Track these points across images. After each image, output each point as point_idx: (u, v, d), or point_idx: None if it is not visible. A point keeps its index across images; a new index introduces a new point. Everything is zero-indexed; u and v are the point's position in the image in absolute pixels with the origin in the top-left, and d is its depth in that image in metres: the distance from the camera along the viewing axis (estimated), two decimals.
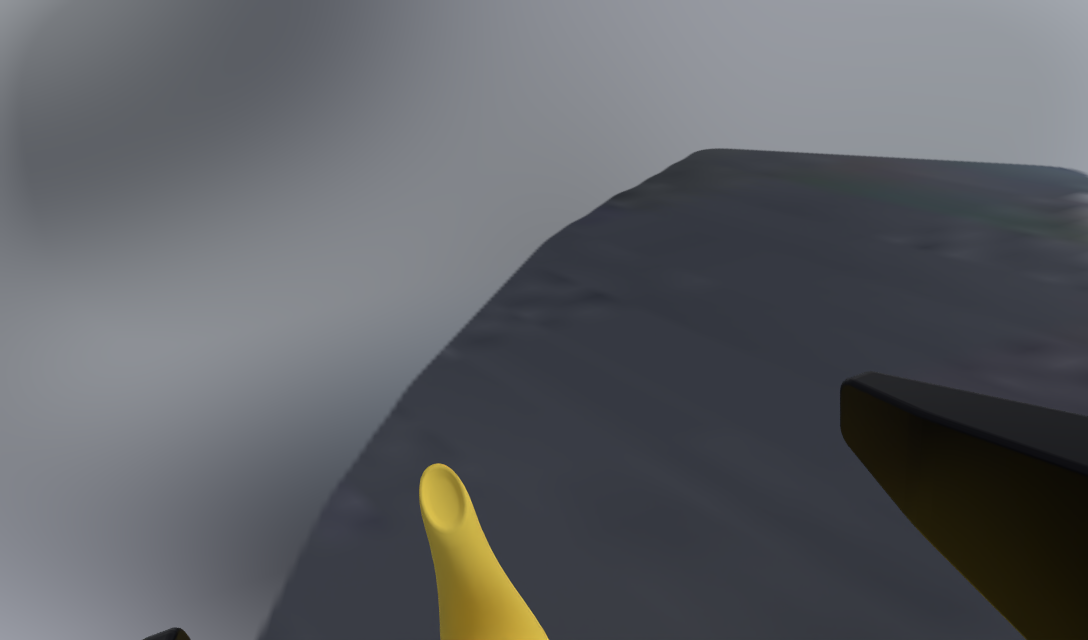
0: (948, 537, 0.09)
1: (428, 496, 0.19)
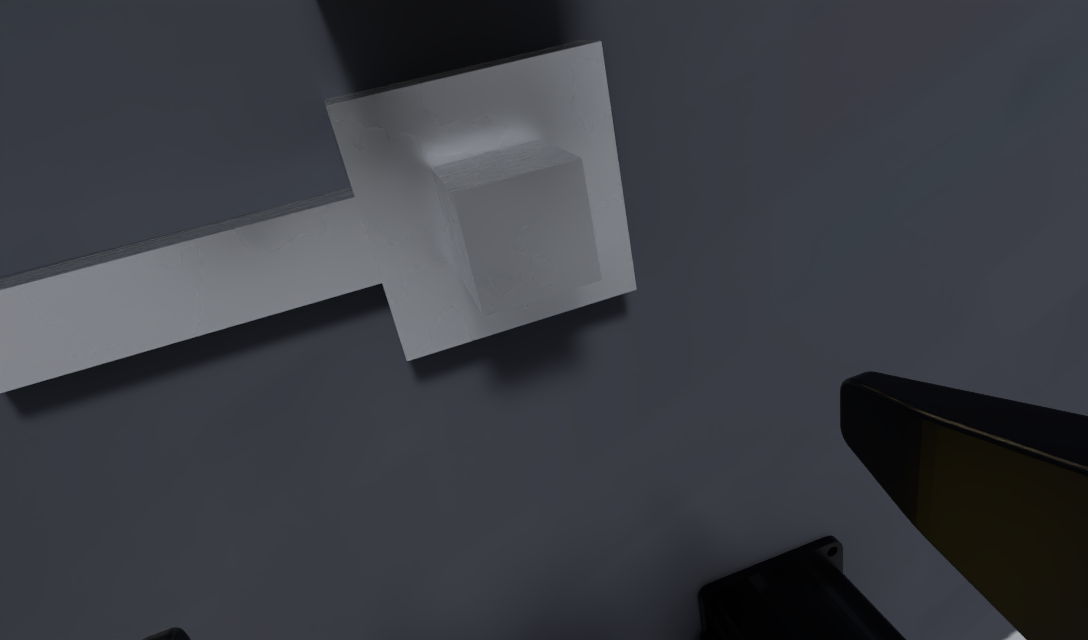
0: (948, 537, 0.09)
1: None
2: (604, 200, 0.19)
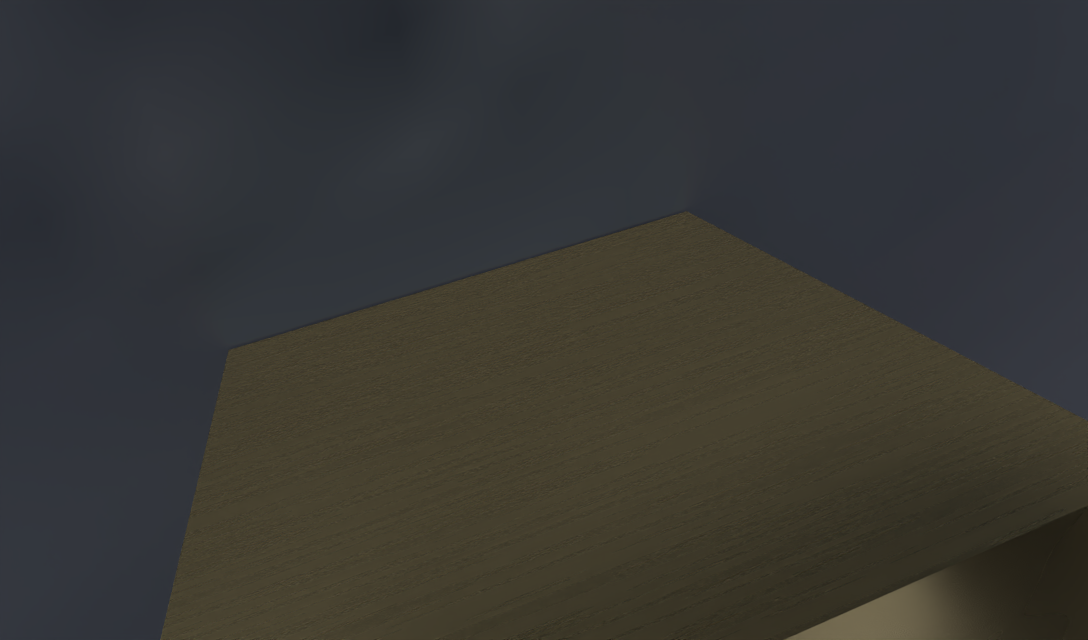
0: None
1: None
2: None
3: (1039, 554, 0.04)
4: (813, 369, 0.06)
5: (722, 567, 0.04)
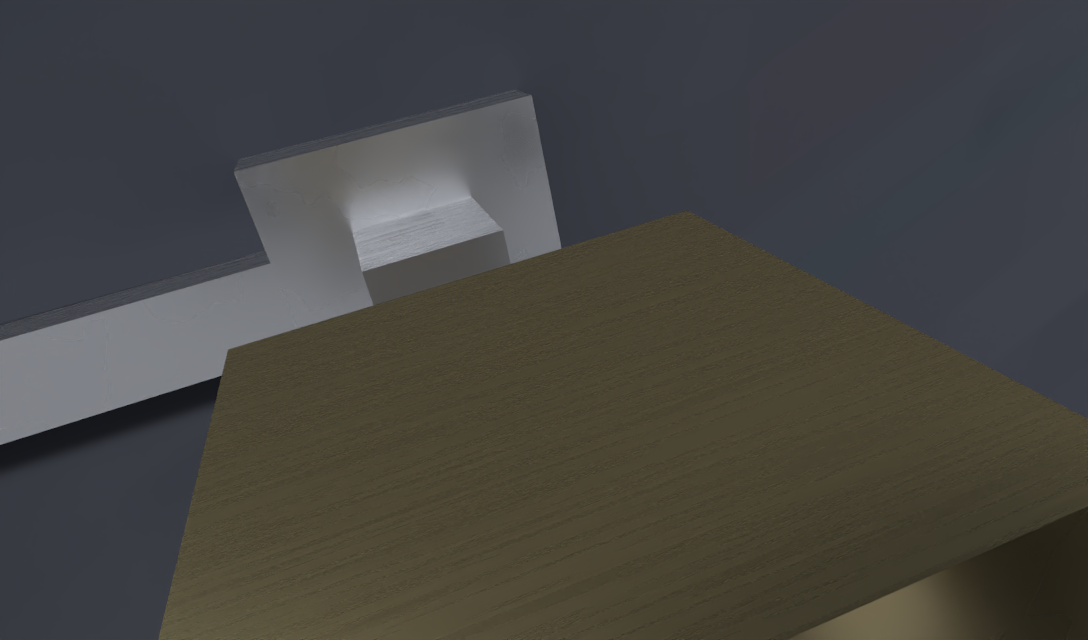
0: None
1: None
2: None
3: (1042, 554, 0.04)
4: (814, 368, 0.06)
5: (723, 569, 0.04)
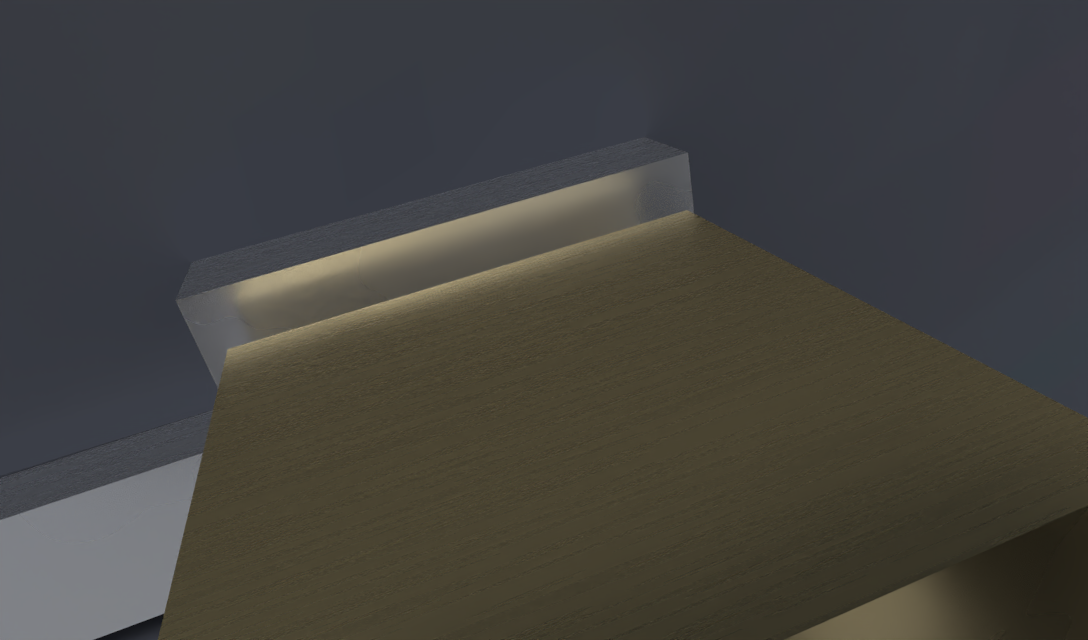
0: None
1: None
2: None
3: (1042, 553, 0.04)
4: (814, 368, 0.06)
5: (723, 566, 0.04)
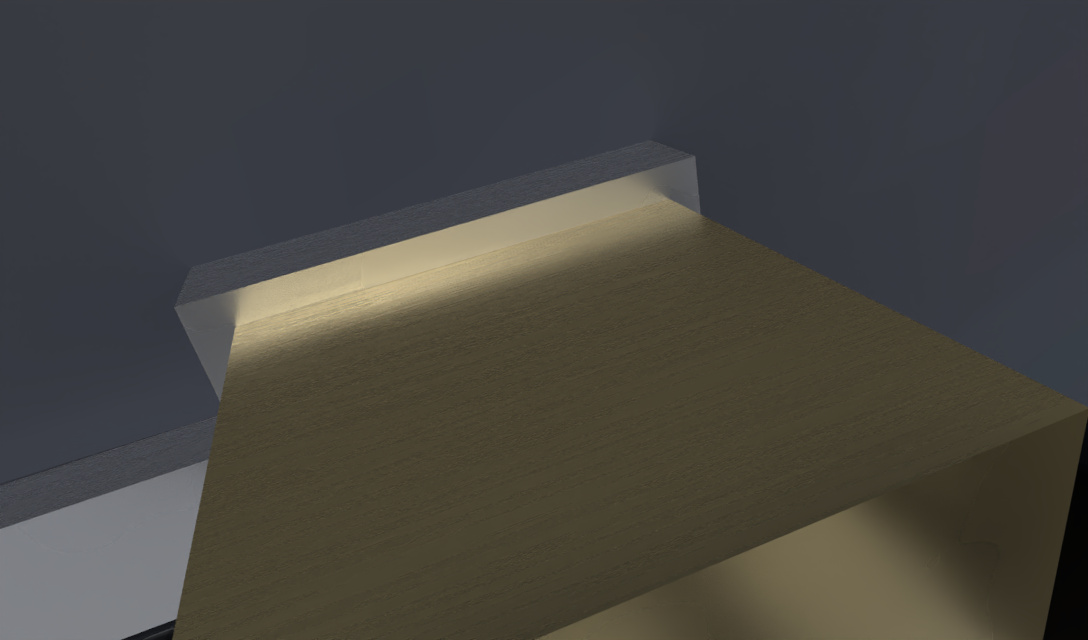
0: None
1: None
2: None
3: (970, 484, 0.05)
4: (780, 334, 0.06)
5: (690, 496, 0.05)
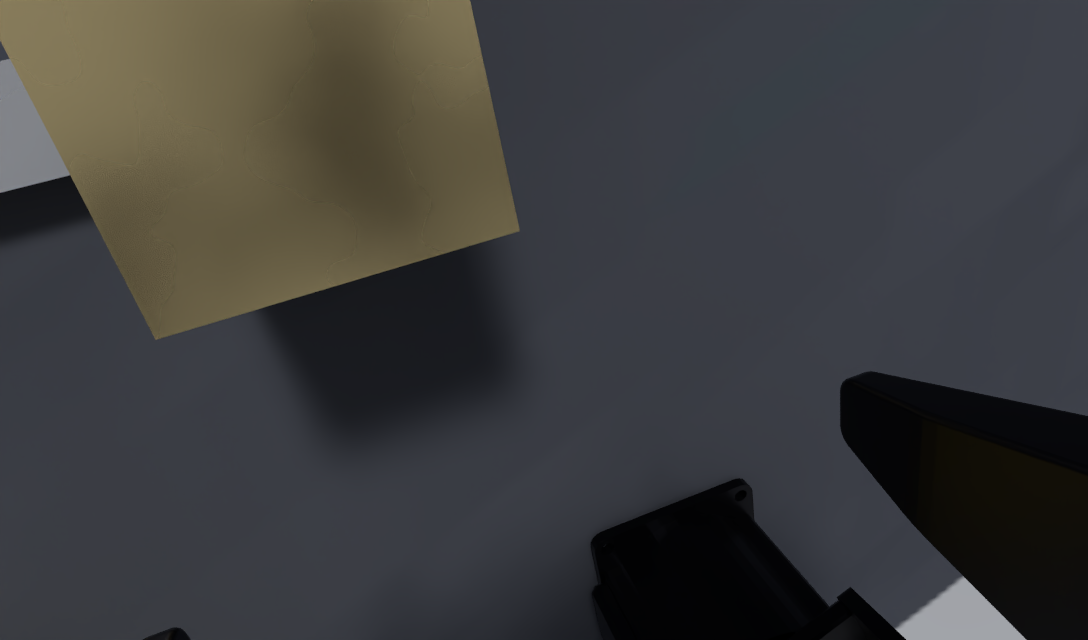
0: (948, 537, 0.09)
1: None
2: None
3: None
4: None
5: None
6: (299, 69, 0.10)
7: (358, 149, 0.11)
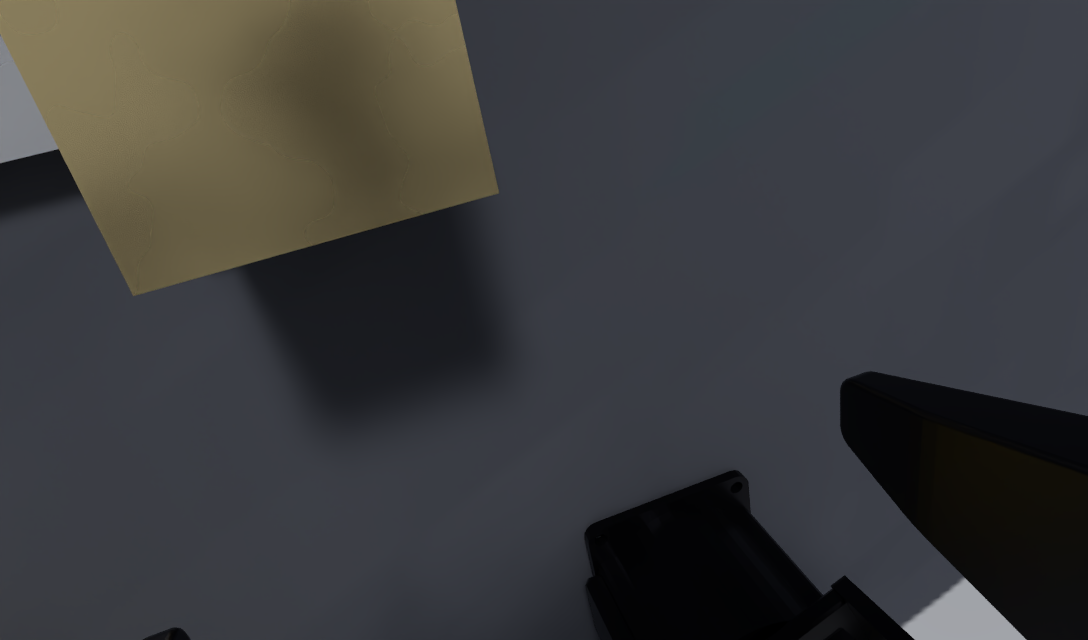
0: (948, 537, 0.09)
1: None
2: None
3: None
4: None
5: None
6: (275, 23, 0.10)
7: (335, 106, 0.11)
